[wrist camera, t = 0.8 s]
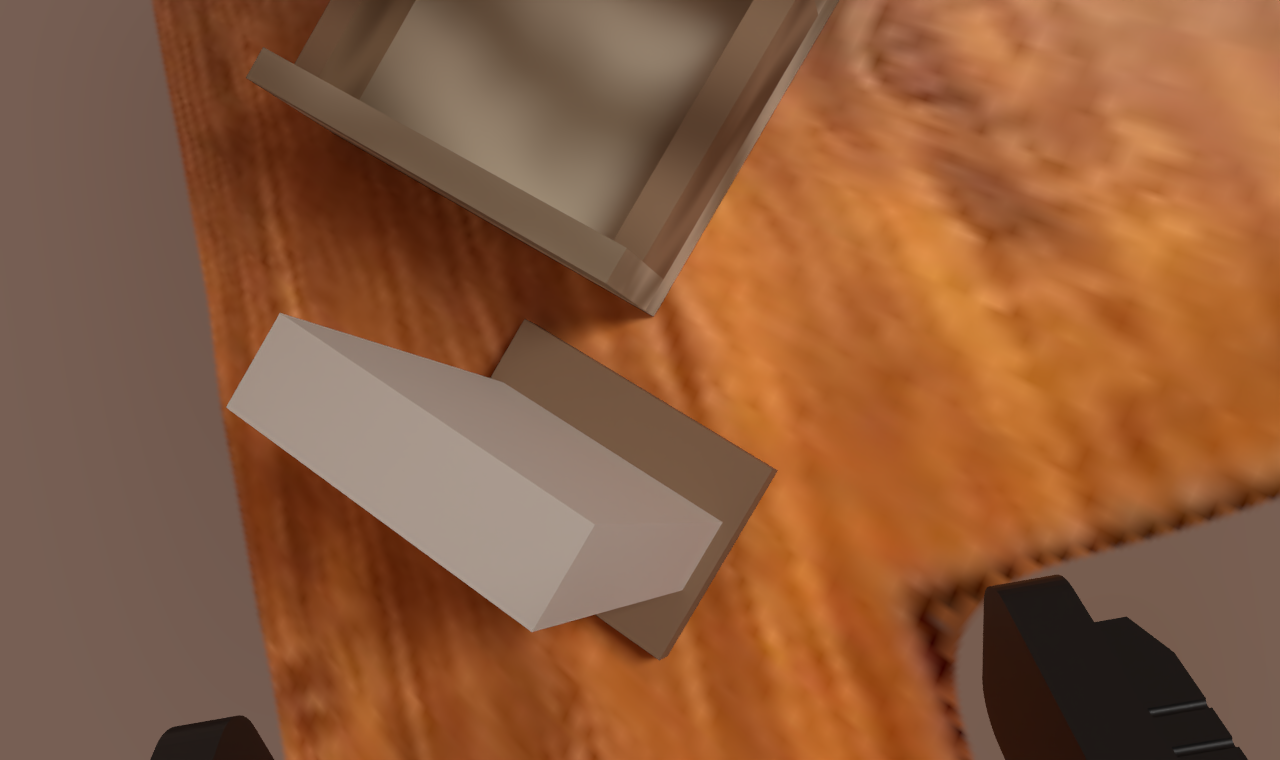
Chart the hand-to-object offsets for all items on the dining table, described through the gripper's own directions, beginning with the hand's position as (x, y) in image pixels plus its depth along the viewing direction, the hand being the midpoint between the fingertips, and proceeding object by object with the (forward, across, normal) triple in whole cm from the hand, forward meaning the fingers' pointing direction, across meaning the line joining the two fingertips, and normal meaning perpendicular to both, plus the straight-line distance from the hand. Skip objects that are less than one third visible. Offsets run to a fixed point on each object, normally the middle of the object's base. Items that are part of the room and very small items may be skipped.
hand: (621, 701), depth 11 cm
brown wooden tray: (+29, +1, +1) cm, 29 cm away
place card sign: (+19, +2, +12) cm, 23 cm away
